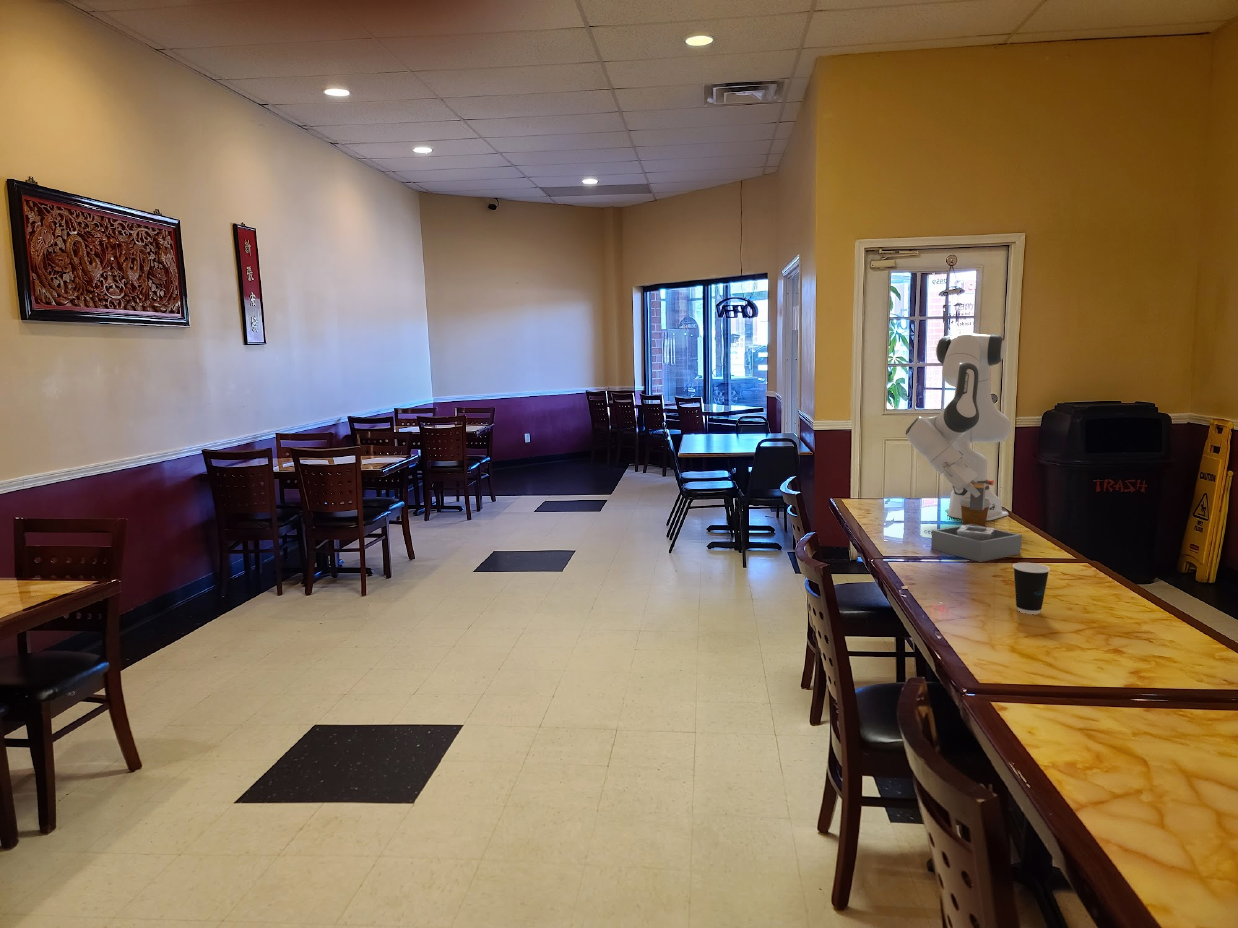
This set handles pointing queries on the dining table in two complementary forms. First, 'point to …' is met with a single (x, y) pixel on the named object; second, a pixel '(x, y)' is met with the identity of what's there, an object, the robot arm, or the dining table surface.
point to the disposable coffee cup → (973, 513)
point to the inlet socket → (976, 532)
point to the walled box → (976, 544)
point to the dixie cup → (1030, 586)
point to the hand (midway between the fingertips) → (980, 494)
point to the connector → (979, 501)
